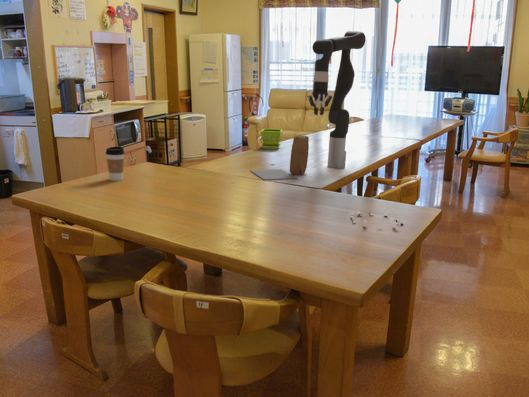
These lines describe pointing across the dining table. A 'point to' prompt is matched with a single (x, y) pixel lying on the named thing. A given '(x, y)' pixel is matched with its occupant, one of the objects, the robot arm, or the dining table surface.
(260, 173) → the mat
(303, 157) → the sandstone rock
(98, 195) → the dining table surface
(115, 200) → the dining table surface
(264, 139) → the flower pot
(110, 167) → the coffee cup
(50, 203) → the dining table surface
